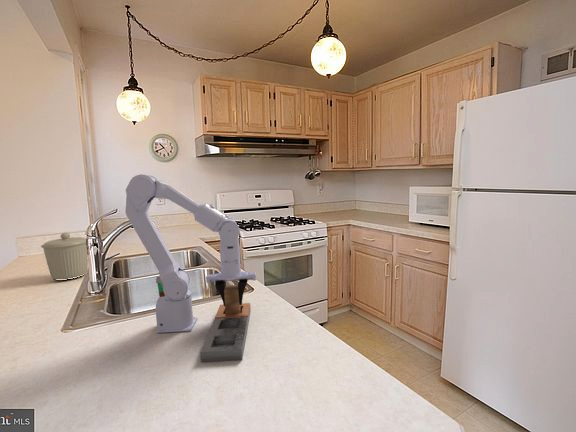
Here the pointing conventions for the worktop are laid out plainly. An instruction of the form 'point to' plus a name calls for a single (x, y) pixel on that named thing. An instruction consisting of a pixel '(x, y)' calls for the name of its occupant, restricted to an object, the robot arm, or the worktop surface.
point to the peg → (232, 299)
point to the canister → (66, 256)
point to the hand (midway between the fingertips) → (233, 304)
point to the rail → (226, 335)
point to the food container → (160, 287)
